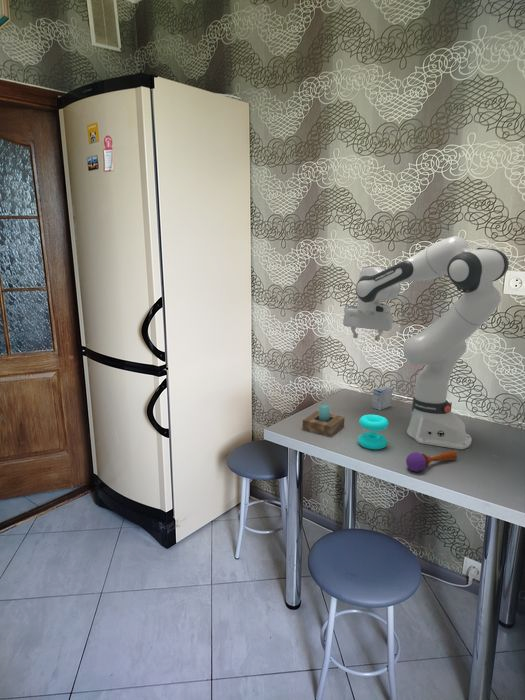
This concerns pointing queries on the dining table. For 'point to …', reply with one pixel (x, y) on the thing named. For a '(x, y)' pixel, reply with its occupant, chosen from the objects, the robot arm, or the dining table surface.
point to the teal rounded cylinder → (324, 413)
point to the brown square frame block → (323, 424)
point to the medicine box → (382, 397)
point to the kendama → (427, 459)
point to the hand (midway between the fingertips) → (366, 339)
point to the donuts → (372, 438)
